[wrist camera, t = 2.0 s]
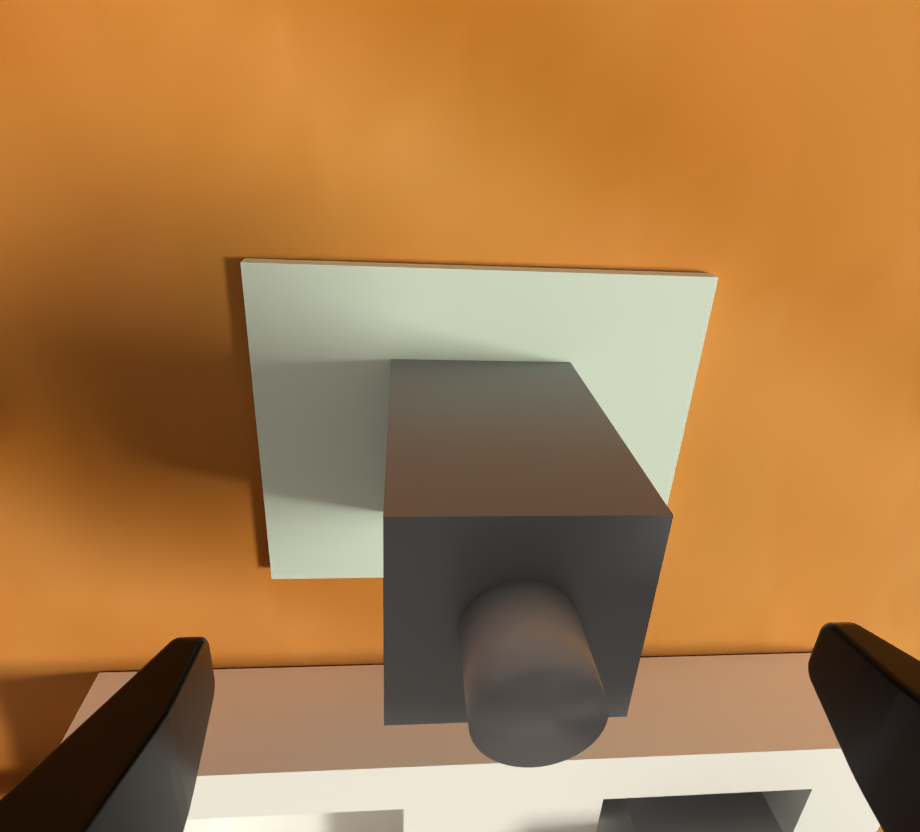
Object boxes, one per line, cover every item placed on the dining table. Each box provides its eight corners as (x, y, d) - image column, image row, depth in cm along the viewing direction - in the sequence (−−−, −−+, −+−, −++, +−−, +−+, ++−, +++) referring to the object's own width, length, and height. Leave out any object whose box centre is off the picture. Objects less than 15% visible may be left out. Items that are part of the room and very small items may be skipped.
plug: (570, 362, 14) (725, 594, 7) (550, 511, 16) (661, 813, 9) (390, 358, 14) (378, 600, 7) (390, 512, 16) (380, 827, 9)
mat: (710, 272, 14) (718, 277, 14) (647, 563, 17) (652, 573, 17) (244, 258, 13) (240, 262, 13) (274, 568, 16) (271, 579, 16)
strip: (846, 651, 20) (940, 766, 16) (770, 832, 23) (833, 955, 20) (-57, 676, 17) (-171, 817, 14) (25, 874, 21) (-49, 1022, 18)
